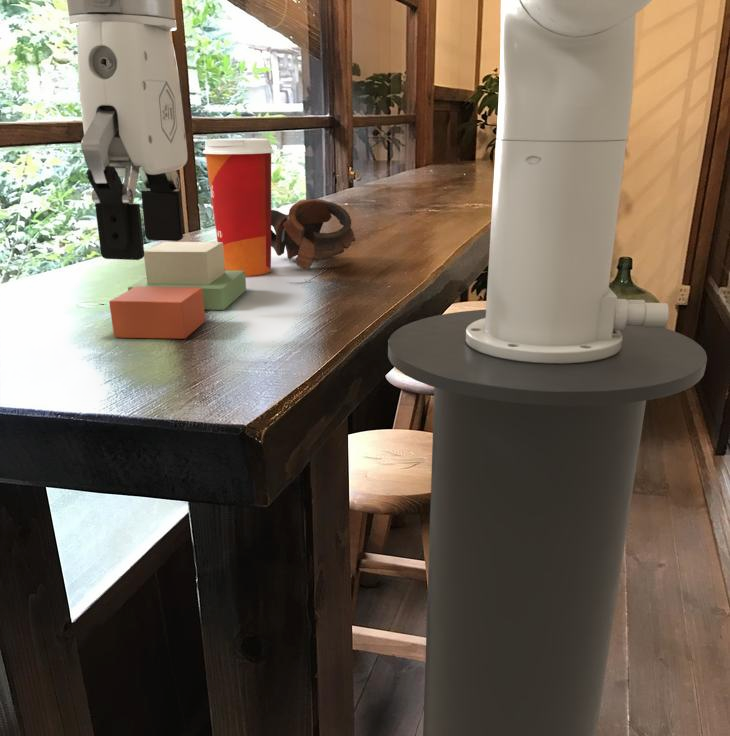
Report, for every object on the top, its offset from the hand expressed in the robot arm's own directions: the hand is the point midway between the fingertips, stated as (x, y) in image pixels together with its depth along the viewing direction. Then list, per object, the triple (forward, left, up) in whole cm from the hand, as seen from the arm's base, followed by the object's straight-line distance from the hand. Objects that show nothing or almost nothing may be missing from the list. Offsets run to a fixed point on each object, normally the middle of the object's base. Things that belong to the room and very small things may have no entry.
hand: (145, 248), depth 66 cm
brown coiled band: (-8, -33, -7) cm, 35 cm away
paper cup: (-2, -27, -7) cm, 28 cm away
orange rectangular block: (-1, 0, -7) cm, 7 cm away
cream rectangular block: (+1, -12, -5) cm, 13 cm away
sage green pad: (0, -12, -7) cm, 14 cm away
